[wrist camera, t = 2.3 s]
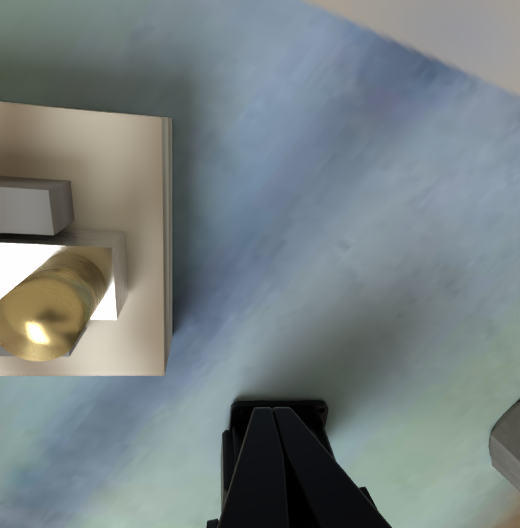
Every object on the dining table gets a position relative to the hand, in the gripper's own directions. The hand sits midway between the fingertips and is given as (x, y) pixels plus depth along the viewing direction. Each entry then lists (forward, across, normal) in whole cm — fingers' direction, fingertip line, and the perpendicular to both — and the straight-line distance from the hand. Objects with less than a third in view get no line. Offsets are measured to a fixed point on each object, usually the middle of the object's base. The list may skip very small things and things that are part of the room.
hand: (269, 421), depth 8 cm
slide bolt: (+9, +9, 0) cm, 13 cm away
